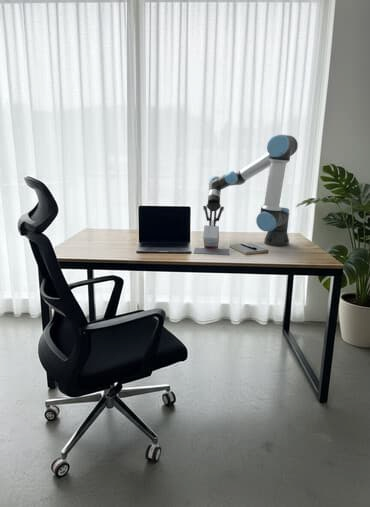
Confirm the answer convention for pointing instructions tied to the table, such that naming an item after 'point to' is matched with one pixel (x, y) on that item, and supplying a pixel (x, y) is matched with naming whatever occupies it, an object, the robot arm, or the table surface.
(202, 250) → the felt pad
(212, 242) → the ink box
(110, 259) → the table surface
